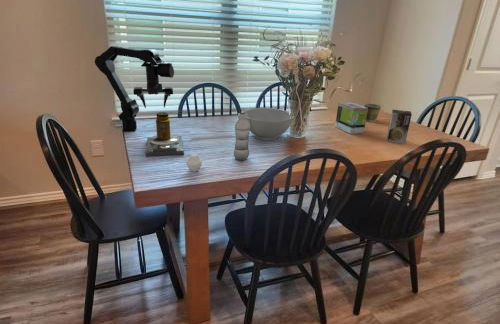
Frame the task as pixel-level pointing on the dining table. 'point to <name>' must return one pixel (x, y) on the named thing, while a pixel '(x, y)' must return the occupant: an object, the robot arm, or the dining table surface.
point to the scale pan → (172, 141)
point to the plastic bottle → (242, 137)
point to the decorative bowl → (268, 122)
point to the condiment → (163, 128)
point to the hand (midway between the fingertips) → (154, 107)
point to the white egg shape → (194, 162)
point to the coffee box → (399, 126)
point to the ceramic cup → (372, 112)
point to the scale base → (164, 149)
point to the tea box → (351, 117)
